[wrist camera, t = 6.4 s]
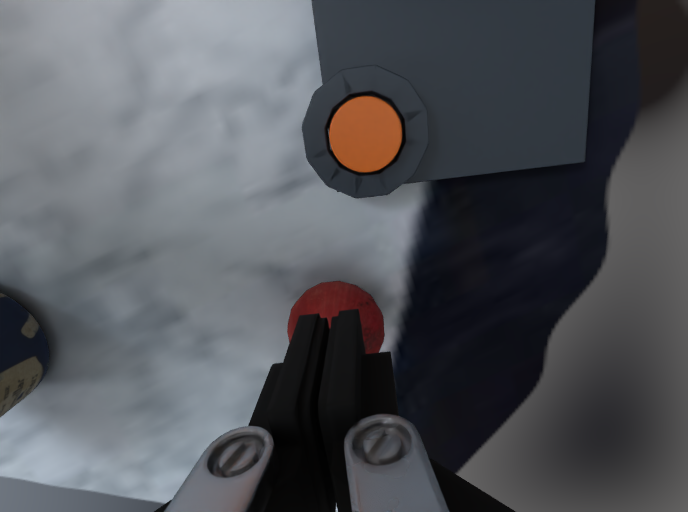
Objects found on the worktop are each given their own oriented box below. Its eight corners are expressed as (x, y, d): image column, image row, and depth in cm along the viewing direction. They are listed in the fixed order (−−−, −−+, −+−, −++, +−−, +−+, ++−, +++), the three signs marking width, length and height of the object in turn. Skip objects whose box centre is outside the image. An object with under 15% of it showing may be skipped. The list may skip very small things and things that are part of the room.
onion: (377, 260, 26) (384, 315, 18) (384, 336, 28) (392, 414, 20) (292, 268, 26) (264, 324, 19) (304, 342, 28) (283, 421, 21)
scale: (320, 193, 25) (313, 203, 21) (273, -123, 20) (255, -174, 16) (567, 163, 23) (601, 169, 20) (585, -183, 18) (634, -252, 15)
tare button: (336, 173, 21) (334, 176, 20) (327, 103, 20) (324, 101, 19) (402, 165, 21) (405, 167, 19) (396, 93, 20) (399, 90, 18)
